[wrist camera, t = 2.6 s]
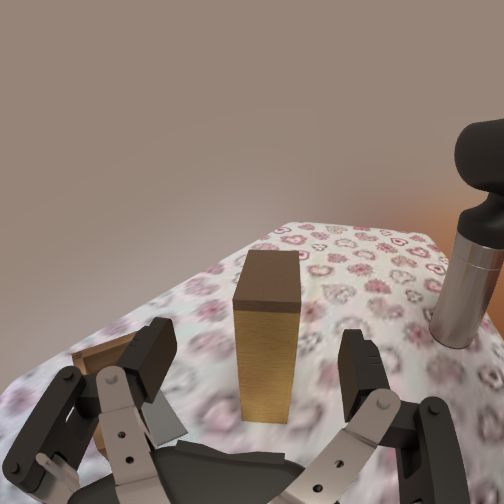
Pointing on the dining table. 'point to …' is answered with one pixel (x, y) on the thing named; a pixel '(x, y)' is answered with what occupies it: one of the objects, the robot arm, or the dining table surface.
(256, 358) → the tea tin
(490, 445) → the dining table surface
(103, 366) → the corner arena
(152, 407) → the mat
